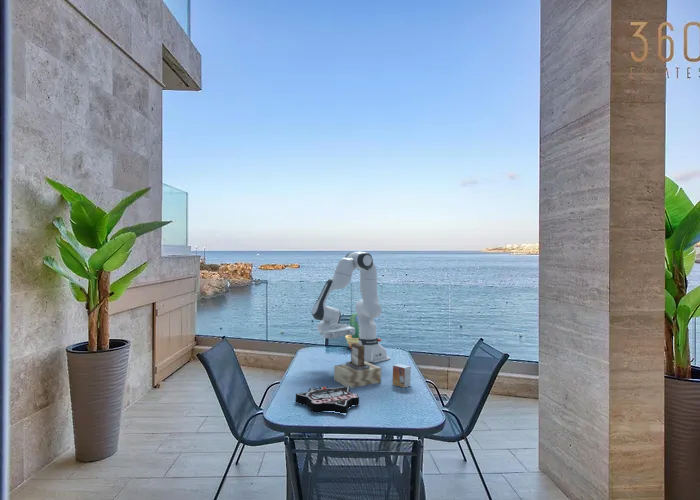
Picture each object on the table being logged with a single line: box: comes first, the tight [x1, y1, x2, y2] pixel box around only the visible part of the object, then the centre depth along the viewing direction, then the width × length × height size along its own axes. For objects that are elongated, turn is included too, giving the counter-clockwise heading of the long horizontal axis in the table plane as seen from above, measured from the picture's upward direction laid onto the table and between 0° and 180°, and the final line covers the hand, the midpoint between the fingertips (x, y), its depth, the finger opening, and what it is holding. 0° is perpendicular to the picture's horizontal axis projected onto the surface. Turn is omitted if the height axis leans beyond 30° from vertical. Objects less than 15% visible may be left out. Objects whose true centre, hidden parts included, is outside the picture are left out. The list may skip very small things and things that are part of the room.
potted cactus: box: [344, 312, 359, 349], centre depth 322 cm, size 15×15×25 cm
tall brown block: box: [350, 343, 365, 367], centre depth 237 cm, size 4×8×12 cm, turn 30°
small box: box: [392, 363, 412, 389], centre depth 231 cm, size 8×6×10 cm
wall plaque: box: [295, 385, 360, 414], centre depth 201 cm, size 28×4×30 cm
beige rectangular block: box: [333, 361, 382, 389], centre depth 237 cm, size 20×16×10 cm
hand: (345, 334), depth 250 cm, fingers open, 8 cm apart
